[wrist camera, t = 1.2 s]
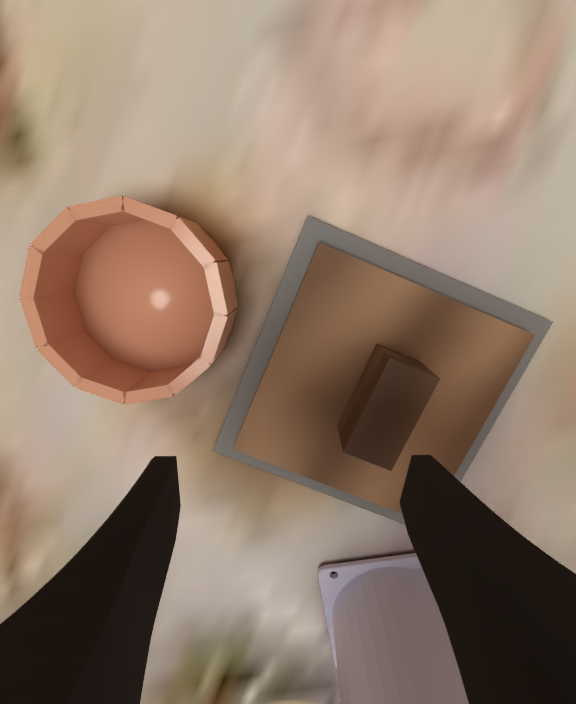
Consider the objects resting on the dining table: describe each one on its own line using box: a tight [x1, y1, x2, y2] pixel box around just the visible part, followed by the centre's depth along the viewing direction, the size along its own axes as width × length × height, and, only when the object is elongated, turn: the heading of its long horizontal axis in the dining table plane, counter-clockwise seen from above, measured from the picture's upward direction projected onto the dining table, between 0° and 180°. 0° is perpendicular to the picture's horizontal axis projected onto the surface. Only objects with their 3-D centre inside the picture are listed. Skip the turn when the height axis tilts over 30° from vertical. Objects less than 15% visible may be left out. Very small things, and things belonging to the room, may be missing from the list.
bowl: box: [20, 196, 238, 404], centre depth 20 cm, size 9×9×4 cm
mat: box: [213, 216, 553, 524], centre depth 22 cm, size 14×14×1 cm
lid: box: [233, 242, 535, 514], centre depth 20 cm, size 12×12×4 cm
